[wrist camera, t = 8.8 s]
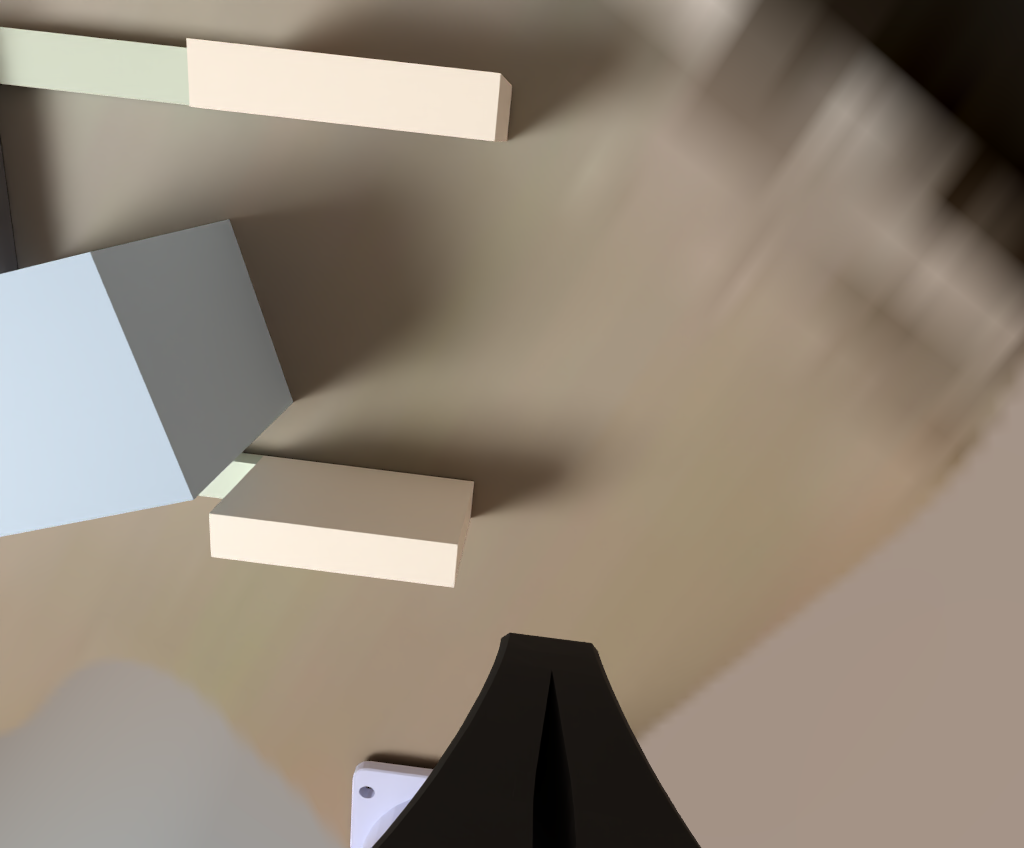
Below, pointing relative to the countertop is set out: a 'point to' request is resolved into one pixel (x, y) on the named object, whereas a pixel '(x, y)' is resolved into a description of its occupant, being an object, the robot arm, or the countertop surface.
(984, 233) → the countertop surface
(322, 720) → the countertop surface
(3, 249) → the pit tray
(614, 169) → the countertop surface
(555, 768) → the robot arm
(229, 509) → the channel
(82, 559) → the countertop surface
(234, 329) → the block
